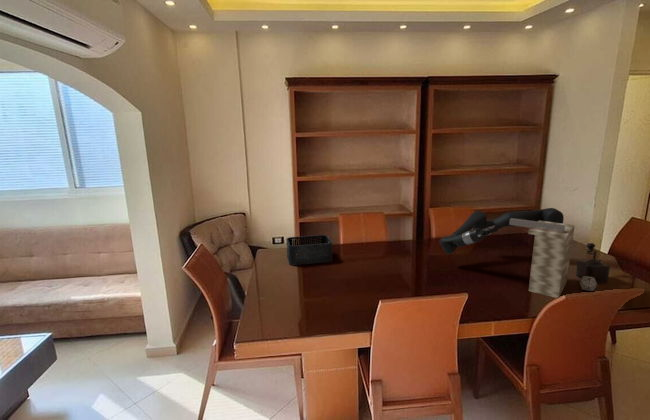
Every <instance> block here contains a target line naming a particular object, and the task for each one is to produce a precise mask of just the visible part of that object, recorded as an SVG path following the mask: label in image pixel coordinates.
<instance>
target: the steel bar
mask: <svg viewBox="0 0 650 420" xmlns="http://www.w3.org/2000/svg"><path fill="white" fill-rule="evenodd" d="M509 225H515V226H514V227H522V228H528V229H530V228H535V229H542V230H549V231H556V232H562V233H564V231H565V225H559V224H552V223H544V222H537V221H529V220H522V219H514V218H511V219H510V223H509Z"/></svg>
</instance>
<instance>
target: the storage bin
mask: <svg viewBox="0 0 650 420" xmlns="http://www.w3.org/2000/svg"><path fill="white" fill-rule="evenodd" d="M306 253H307V254H306ZM308 253H309V254H308ZM296 254H297V255H296ZM298 254H299V255H298ZM300 255H301V256H300ZM286 258H287V261H288V264H289V265H291V266H299V265H301V266H302V265H311V264H312V265H313V264H320V263H321V264H322V263H330V262H332V261H333V240H331V238H330V237H329V235H325V234H319V235H304V236H303V235H302V236H289V237H286Z"/></svg>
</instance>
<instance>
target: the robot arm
mask: <svg viewBox="0 0 650 420" xmlns="http://www.w3.org/2000/svg"><path fill="white" fill-rule="evenodd" d="M564 216H565V215H564V214H563V212H562V211H561V210H558V209H557V208H554V207H549V208H548V207H547V208H542V209H536V210H521V211H519V210H517V211H508V212H505V213H503V214H501V215H500V216H498V217H496V218H494V219H489V220H487V214H486V213H485V212H484V211H481V210H477V211H474V212H472V213H471V214H470V215H469V217H467V218H466V220H465V221H464V223H463V224H462V225H461V226H460V227H459V228H458V229H456V230H455V231H454V232H453V233H451V234H450V235H447V236H443V237H441V238H440V239H439V245H440V246H441V248H442V250H443V251H444V253H445V254H447V255H451V254H453V253H455V252H456V250H457V249H458V248H462V247H465V246H468V245H472V244H475V243H479V242H481V241H483V240H484V238H485V237H487V236H490V235H492V234H493V233H496V232H499V229H500V230H501V229H503V228H505V227H506V228H507V227H516V226H515V225H509V223H510V219H511V218H514V219H522V220H529V221H537V222H538V221H547V222H554V223H562V224H564Z"/></svg>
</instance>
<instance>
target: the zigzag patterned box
mask: <svg viewBox="0 0 650 420" xmlns="http://www.w3.org/2000/svg"><path fill="white" fill-rule="evenodd" d="M538 222H544V223H552V224H559V225H565V231H564V233H562V232H556V231H549V230H542V229H535V228H528V233H527V235H534V240H533V248H532V249H533V250H532V256H531V257H532V258H531V265H530V275H529V284H528V292H531V293H535V294H539V295H543V296H548V297H552V298H556V299H558V298H557V297H559V298H560V296H561V294H562V292H563V290H564V288H565V287H566V284H567V281H568V274H569V269H570V261H571V254H572V247H573V246H572V245H573V239H574V233H575V227H576V226H575V224H570V223H569V224H568V223H563V224H562V223H554V222H547V221H538Z"/></svg>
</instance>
